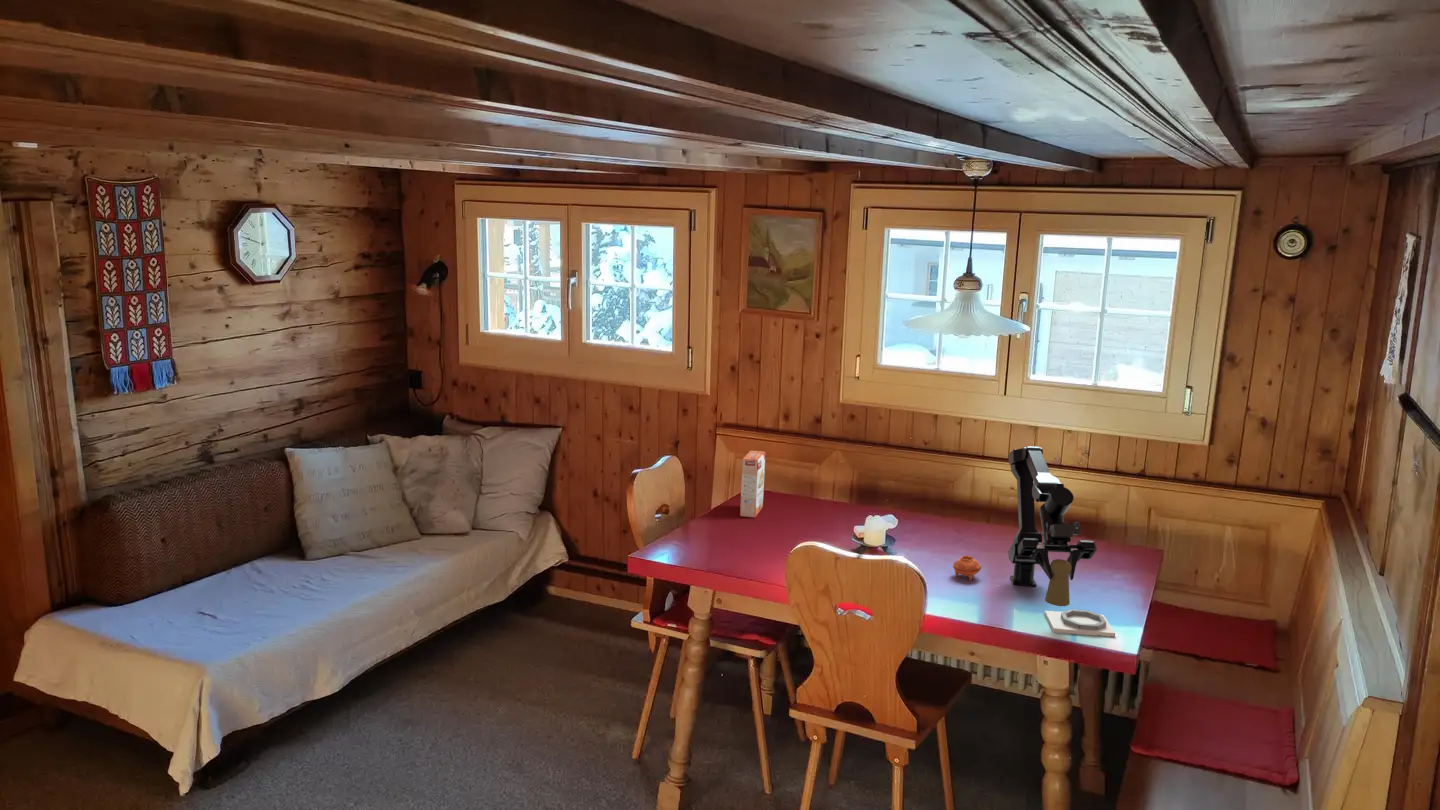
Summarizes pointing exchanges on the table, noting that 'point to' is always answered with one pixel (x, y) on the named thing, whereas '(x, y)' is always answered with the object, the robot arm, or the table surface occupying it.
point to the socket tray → (1079, 622)
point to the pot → (966, 566)
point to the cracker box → (752, 484)
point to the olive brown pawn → (1059, 583)
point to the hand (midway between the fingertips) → (1061, 579)
